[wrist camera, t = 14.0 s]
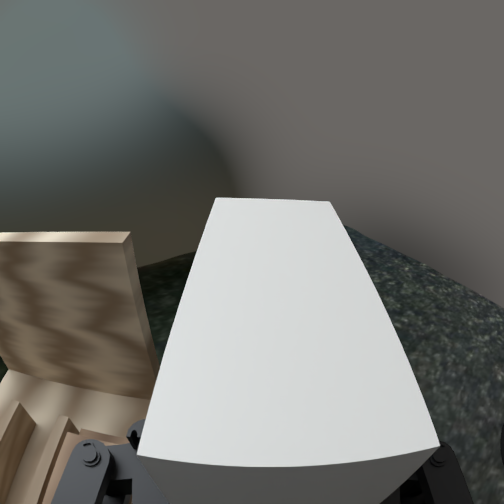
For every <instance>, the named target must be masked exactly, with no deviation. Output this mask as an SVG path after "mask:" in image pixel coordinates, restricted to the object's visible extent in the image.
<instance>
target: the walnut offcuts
mask: <svg viewBox="0 0 504 504" xmlns="http://www.w3.org/2000/svg"><path fill="white" fill-rule="evenodd" d="M87 439H95V440H98V441H100V442H102V443H104V445H105V446H110V445H120V444H127V443H130V442H129V441H128V439H127V438H122V437H117V436H112V435H108V434H103V433H99V432H94V431H90V430H86V429H82V428H81V430H80V433H79V435H77V434H74V433H70V432H67V435H66V437H65V440H64V442H63V445H62V448H61V450H60V453H59V456H58V458H57V461H56V464H55V467H54V469H53V472H52V475H51V478H50V481H49V484H48V487H47V490H46V493H45V496H44V499H43V502H42V504H51V502H52V499H53V497H54V494H55V491H56V489H57V486H58V484H59V481H60V479H61V477H62V474H63V472H64V469H65V467H66V464H67V462H68V460H69V457H70V455H71V453H72V450H73V449H74V447H75V446H76V445H77V444H78V443H79V442H81V441H82V440H87ZM131 501H132V495H131V497H130V501H129V504H131Z"/></svg>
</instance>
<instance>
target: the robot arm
mask: <svg viewBox="0 0 504 504" xmlns="http://www.w3.org/2000/svg"><path fill="white" fill-rule="evenodd" d="M145 420H146V419H142V420H139V421H137V422H135V423H133V425H132V426H131V427H130V428H129V429H128V432H127V435H126V437H127V439H128V441H129V442H130V443H127V444H120V445H110V446H105V445H104V443H102V442H100V441H98V440H95V439H87V440H82V441H81V442H79V443H78V444H77V445H76V446H75V447H74V449H73V450H72V453H71V455H70V457H69V460H68V462H67V464H66V467H65V469H64V472H63V474H62V477H61V479H60V481H59V484H58V486H57V489H56V491H55V494H54V497H53V499H52V502H51V504H129V501H130V497H131V495H132V504H170V503H169V502H168V500H167V499H166V498H165V496H164V495H163V493H162V492H161V491H160V489H159V488H158V486H157V485H156V484H155V482H154V481H153V479H152V478H151V476H150V475H149V473H148V472H147V470H146V469H145V467H144V466H143V464H142V463H141V461H140V459H139V458H138V456H137V451H138V447H139V443H140V439H141V435H142V431H143V427H144V424H145ZM439 444H440V447H439V448H438V449H437V450H436V451H435V452H434V453H433V454H432V455H431V456H430V457H429V458H428V459H427V460H426V461H425V462H424V463H423V464H422V465H421V466H420V467H419V468H418V469H417V470H416V471H415V472H414V473H413V474H412V475H411V476H410V477H409V478H408V479H407V480H406V481H405V482H404V483H403V484H401V485H400V486H399V487H398V488H397V489H396V490H395V491H394V492H393V493H391V494H390V495H389V496H388V497H387V498H386V499H384V500H383V501H382V502H381V503H380V504H474V503H473V501H472V498H471V495H470V492H469V489H468V487H467V484H466V481H465V479H464V476H463V473H462V471H461V468H460V466H459V463H458V461H457V458H456V456H455V453H454V451H453V450H452V448H451V447H450V446H449V445H448V444H446V443H445V442H441V441H439ZM501 454H502V460H503V464H504V425H503V428H502V433H501Z"/></svg>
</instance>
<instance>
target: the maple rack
mask: <svg viewBox="0 0 504 504" xmlns="http://www.w3.org/2000/svg"><path fill="white" fill-rule="evenodd" d="M0 355H1V357H2V359H3V360H4V362H5V364H6V365H7V367H8V369H9V370H8V372H7V373H6V375H5V376H4V378H3V380H2V381H1V383H0V504H42V502H43V499H44V496H45V493H46V490H47V487H48V484H49V481H50V478H51V475H52V472H53V469H54V467H55V464H56V461H57V458H58V456H59V453H60V450H61V448H62V445H63V442H64V440H65V437H66V435H67V432H70V433H74V434H77V435H79V433H80V430H81V428H82V429H86V430H90V431H94V432H99V433H103V434H108V435H112V436H117V437H122V438H127V437H126V435H127V432H128V429H129V428H130V427H131V426H132V425H133V423H135V422H137V421H139V420H142V419H146V416H147V412H148V409H149V405H150V401H151V398H152V394H153V391H154V387H155V384H156V380H157V377H158V373H159V370H160V366H159V363H158V359H157V355H156V351H155V347H154V344H153V340H152V336H151V331H150V327H149V323H148V319H147V314H146V310H145V306H144V301H143V296H142V292H141V287H140V282H139V277H138V272H137V266H136V261H135V256H134V250H133V244H132V238H131V232H7V233H0ZM131 504H132V501H131Z"/></svg>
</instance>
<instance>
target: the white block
mask: <svg viewBox="0 0 504 504" xmlns="http://www.w3.org/2000/svg"><path fill="white" fill-rule="evenodd" d="M439 447H440V444H439V441H438V438H437V435H436V432H435V429H434V426H433V423H432V421H431V418H430V415H429V412H428V410H427V407H426V404H425V402H424V399H423V396H422V394H421V391H420V389H419V386H418V384H417V381H416V379H415V376H414V374H413V371H412V369H411V366H410V364H409V362H408V359H407V357H406V355H405V352H404V350H403V348H402V345H401V343H400V341H399V338H398V336H397V334H396V332H395V329H394V327H393V325H392V323H391V321H390V318H389V316H388V314H387V312H386V310H385V308H384V305H383V303H382V301H381V299H380V297H379V295H378V293H377V291H376V289H375V287H374V285H373V283H372V281H371V279H370V277H369V275H368V273H367V271H366V269H365V267H364V265H363V263H362V261H361V259H360V257H359V255H358V253H357V251H356V249H355V247H354V245H353V243H352V242H351V240H350V238H349V236H348V234H347V232H346V230H345V228H344V227H343V225H342V223H341V221H340V219H339V217H338V216H337V214H336V212H335V210H334V208H333V207H332V205H331V203H330V202H325V201H306V200H304V201H303V200H282V199H249V198H216V199H215V202H214V205H213V208H212V210H211V213H210V216H209V218H208V221H207V225H206V227H205V230H204V233H203V236H202V238H201V242H200V244H199V247H198V250H197V253H196V256H195V259H194V262H193V265H192V268H191V271H190V274H189V277H188V280H187V283H186V286H185V289H184V292H183V295H182V298H181V301H180V304H179V307H178V310H177V314H176V317H175V320H174V323H173V326H172V330H171V333H170V336H169V339H168V343H167V346H166V349H165V353H164V356H163V359H162V363H161V366H160V370H159V373H158V377H157V380H156V384H155V387H154V391H153V394H152V398H151V401H150V405H149V409H148V412H147V416H146V420H145V424H144V427H143V431H142V435H141V439H140V443H139V447H138V451H137V456H138V458H139V459H140V461H141V463H142V464H143V466H144V467H145V469H146V470H147V472H148V473H149V475H150V476H151V478H152V479H153V481H154V482H155V484H156V485H157V486H158V488H159V489H160V491H161V492H162V493H163V495H164V496H165V498H166V499H167V500H168V502H169V503H170V504H380V503H381V502H382V501H383V500H384V499H386V498H387V497H388V496H389V495H390V494H391V493H393V492H394V491H395V490H396V489H397V488H398V487H399V486H400V485H401V484H403V483H404V482H405V481H406V480H407V479H408V478H409V477H410V476H411V475H412V474H413V473H414V472H415V471H416V470H417V469H418V468H419V467H420V466H421V465H422V464H423V463H424V462H425V461H426V460H427V459H428V458H429V457H430V456H431V455H432V454H433V453H434V452H435V451H436V450H437V449H438V448H439Z"/></svg>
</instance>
